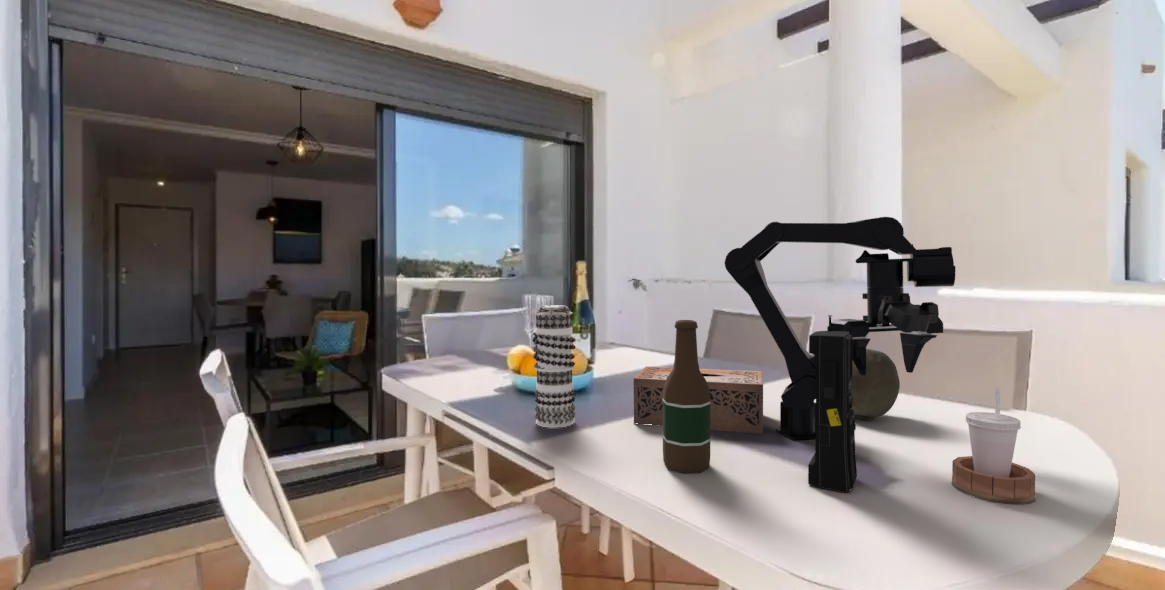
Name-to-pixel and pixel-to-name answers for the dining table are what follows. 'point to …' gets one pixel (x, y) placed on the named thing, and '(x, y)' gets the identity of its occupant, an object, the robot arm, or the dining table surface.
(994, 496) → the round brown planter pot
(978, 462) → the smoothie
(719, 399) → the tissue box cover
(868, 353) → the round brown rock
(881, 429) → the dining table surface
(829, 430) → the portable radio
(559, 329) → the decorative candle
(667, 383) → the beer bottle
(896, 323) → the robot arm
